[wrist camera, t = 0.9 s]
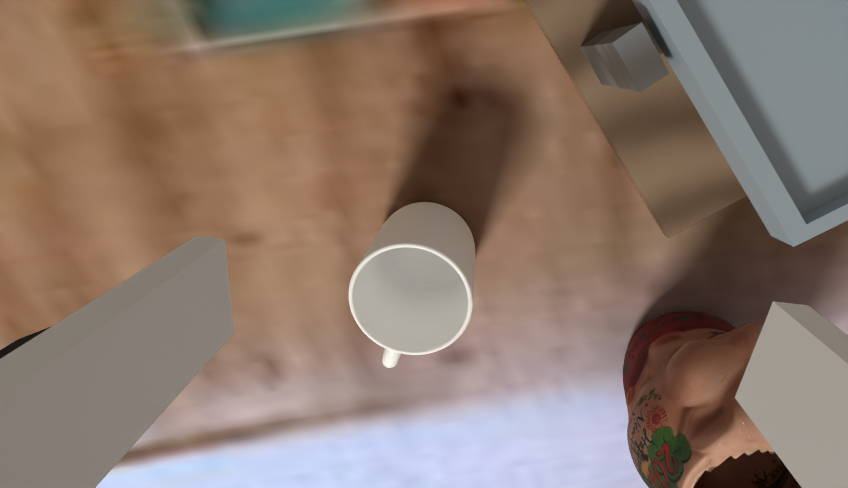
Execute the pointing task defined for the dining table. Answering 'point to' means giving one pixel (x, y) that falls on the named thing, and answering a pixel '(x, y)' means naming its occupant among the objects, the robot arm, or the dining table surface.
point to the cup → (415, 282)
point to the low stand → (640, 109)
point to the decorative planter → (695, 406)
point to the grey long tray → (768, 99)
